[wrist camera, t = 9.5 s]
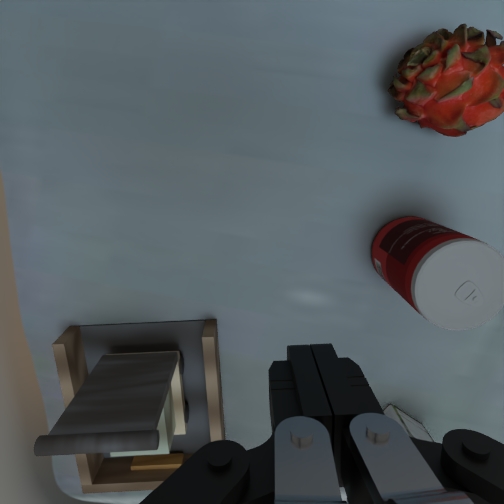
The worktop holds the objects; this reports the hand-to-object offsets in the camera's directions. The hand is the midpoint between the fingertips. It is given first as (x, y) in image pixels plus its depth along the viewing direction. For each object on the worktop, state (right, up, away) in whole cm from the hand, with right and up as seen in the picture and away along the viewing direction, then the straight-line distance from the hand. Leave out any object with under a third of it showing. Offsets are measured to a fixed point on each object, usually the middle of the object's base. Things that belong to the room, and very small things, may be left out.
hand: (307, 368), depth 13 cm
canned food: (+15, +4, +27) cm, 31 cm away
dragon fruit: (+16, +20, +23) cm, 34 cm away
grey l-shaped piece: (-14, -12, +31) cm, 35 cm away
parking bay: (-14, -13, +31) cm, 36 cm away
